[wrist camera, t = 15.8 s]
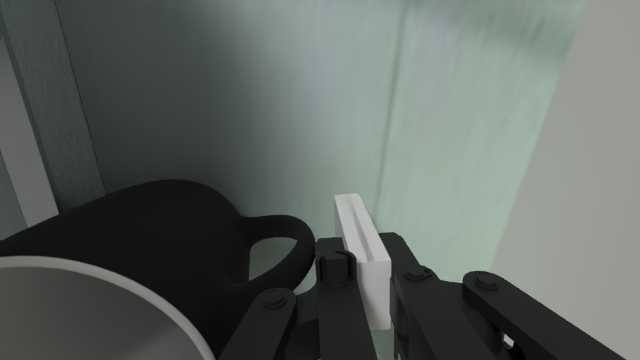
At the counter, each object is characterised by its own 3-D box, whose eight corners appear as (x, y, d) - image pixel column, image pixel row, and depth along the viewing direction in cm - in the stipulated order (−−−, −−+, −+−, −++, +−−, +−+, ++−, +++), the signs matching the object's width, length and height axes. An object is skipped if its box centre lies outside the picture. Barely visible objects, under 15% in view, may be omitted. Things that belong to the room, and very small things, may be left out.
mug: (150, 313, 20) (6, 531, 10) (78, 184, 17) (-209, 314, 8) (332, 261, 19) (361, 437, 10) (287, 121, 17) (265, 172, 7)
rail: (99, 299, 19) (45, 358, 15) (-56, -216, 12) (-235, -371, 8) (140, 295, 19) (97, 353, 15) (8, -216, 13) (-136, -368, 8)
